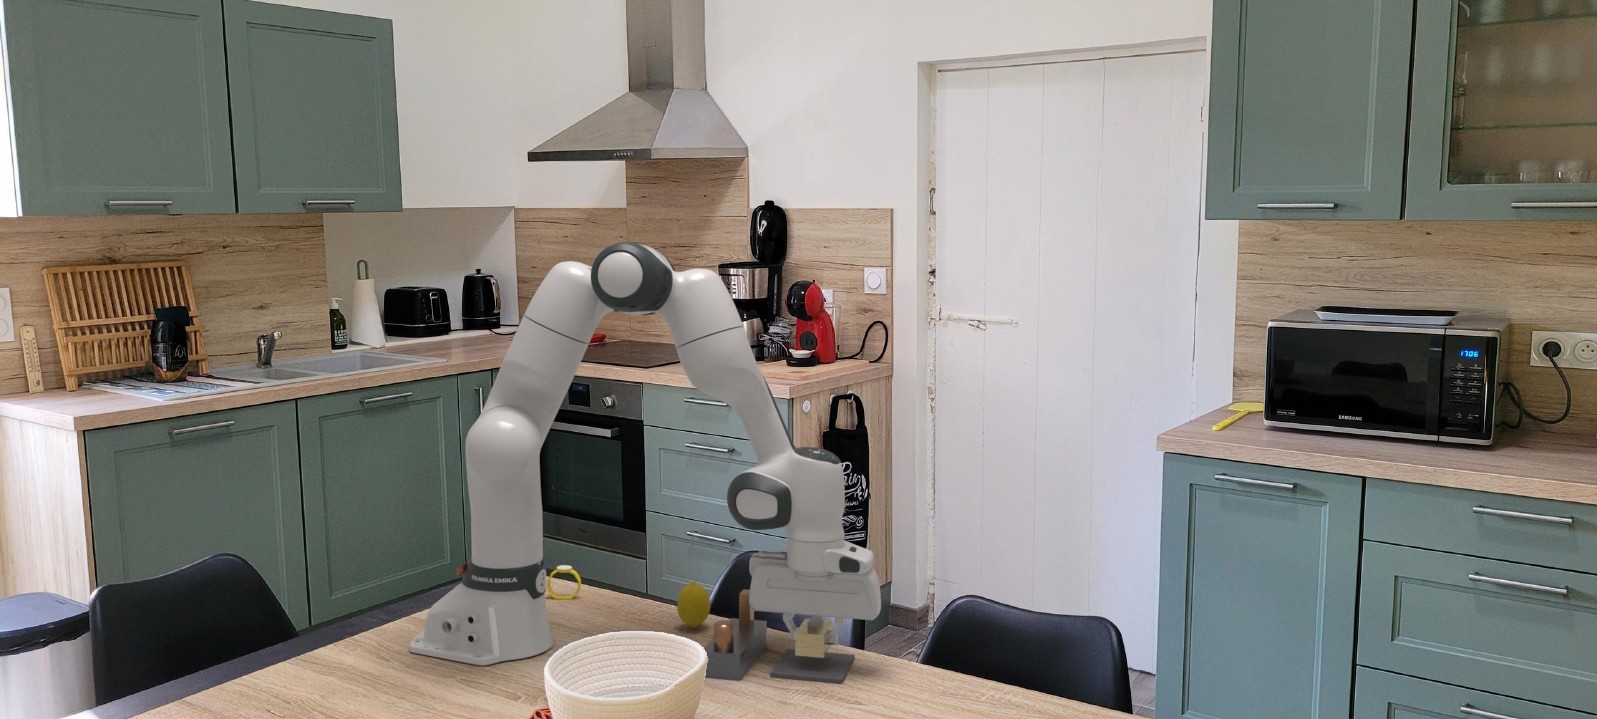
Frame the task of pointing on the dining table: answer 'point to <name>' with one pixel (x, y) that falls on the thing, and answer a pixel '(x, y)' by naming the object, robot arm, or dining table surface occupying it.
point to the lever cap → (813, 637)
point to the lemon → (693, 604)
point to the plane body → (736, 643)
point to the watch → (564, 570)
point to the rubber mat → (813, 667)
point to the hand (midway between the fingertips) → (814, 641)
